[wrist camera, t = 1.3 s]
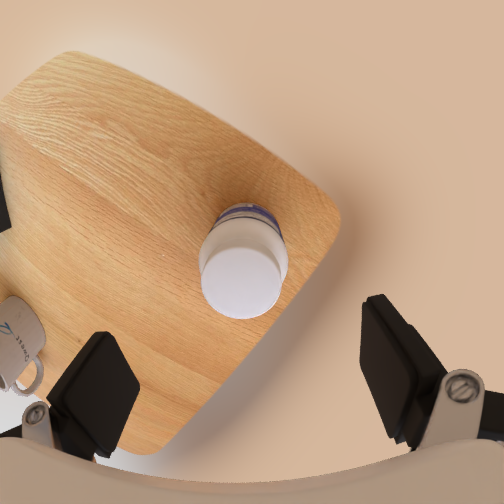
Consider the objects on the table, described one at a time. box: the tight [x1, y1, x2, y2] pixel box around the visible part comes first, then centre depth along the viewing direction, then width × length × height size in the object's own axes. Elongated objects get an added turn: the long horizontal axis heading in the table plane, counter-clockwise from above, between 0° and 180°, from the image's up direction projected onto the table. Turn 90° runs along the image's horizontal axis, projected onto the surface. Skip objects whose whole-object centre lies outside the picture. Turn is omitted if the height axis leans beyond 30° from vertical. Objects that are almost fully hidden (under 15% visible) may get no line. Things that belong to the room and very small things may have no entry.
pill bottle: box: [199, 203, 288, 319], centre depth 17 cm, size 5×5×9 cm
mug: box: [0, 296, 46, 396], centre depth 22 cm, size 12×9×10 cm
